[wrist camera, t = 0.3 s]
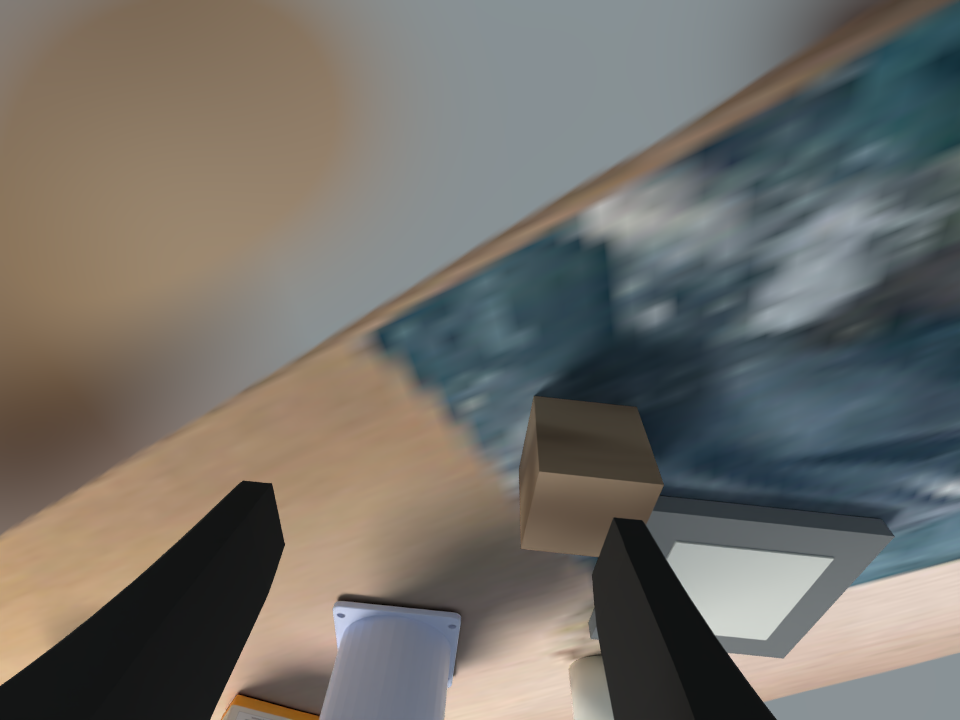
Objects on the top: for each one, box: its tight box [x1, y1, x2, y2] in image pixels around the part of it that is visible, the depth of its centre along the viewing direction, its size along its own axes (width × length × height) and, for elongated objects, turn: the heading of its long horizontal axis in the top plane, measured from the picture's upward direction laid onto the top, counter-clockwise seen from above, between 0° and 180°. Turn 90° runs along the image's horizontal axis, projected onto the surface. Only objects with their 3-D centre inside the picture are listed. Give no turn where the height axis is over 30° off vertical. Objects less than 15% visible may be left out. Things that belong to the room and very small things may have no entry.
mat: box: [588, 496, 895, 658], centre depth 27 cm, size 12×12×1 cm
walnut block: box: [519, 396, 664, 557], centre depth 20 cm, size 4×4×4 cm
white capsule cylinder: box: [569, 656, 614, 720], centre depth 32 cm, size 4×4×4 cm
